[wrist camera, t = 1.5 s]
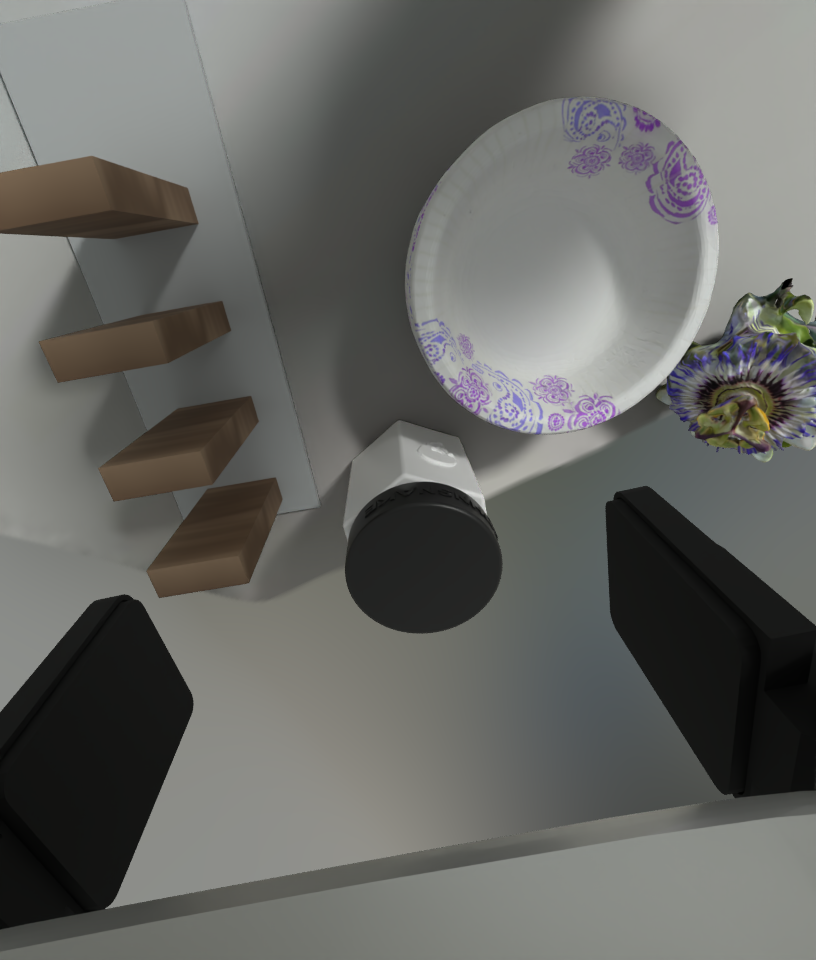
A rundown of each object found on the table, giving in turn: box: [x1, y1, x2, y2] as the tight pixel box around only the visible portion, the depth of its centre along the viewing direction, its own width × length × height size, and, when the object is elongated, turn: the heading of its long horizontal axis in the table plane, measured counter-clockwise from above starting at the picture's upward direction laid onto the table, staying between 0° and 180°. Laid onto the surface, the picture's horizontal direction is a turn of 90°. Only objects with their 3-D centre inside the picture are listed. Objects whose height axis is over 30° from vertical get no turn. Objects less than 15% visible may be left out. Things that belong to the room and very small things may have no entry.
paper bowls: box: [405, 97, 719, 434], centre depth 27 cm, size 15×15×8 cm
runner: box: [0, 0, 321, 520], centre depth 30 cm, size 29×10×1 cm, turn 9°
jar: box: [343, 420, 502, 633], centre depth 30 cm, size 9×8×12 cm
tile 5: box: [147, 477, 283, 598], centre depth 31 cm, size 2×5×10 cm, turn 99°
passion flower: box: [656, 278, 816, 462], centre depth 30 cm, size 11×11×12 cm
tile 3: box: [39, 301, 231, 383], centre depth 26 cm, size 2×5×10 cm, turn 99°
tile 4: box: [98, 396, 259, 501], centre depth 28 cm, size 2×5×10 cm, turn 100°
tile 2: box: [0, 156, 199, 239], centre depth 23 cm, size 2×5×10 cm, turn 99°
